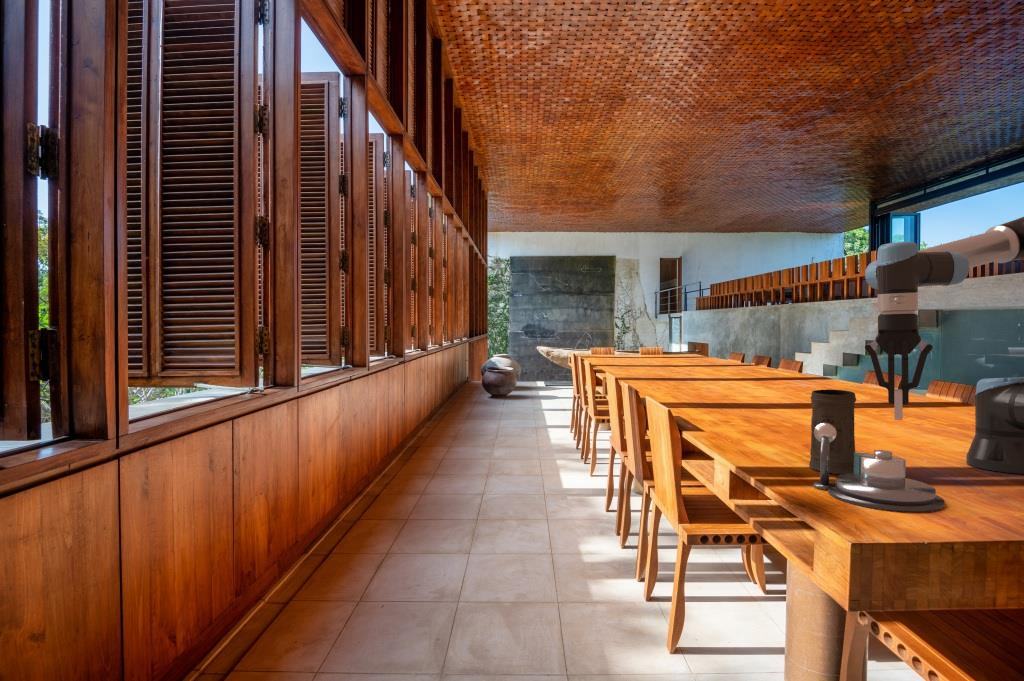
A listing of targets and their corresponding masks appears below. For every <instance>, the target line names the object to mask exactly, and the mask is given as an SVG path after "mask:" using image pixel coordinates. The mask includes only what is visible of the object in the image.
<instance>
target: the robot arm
mask: <svg viewBox="0 0 1024 681" xmlns="http://www.w3.org/2000/svg"><path fill="white" fill-rule="evenodd" d="M876 255H877V256H876V260H874V261H872V262H869V264H868V265H867V266H866V269H865V272H864V278H865V281H866V283H867V285H868V286H869V287H870V288H871V289H874V290H877V312H879V313H880V314H879V315H877V334H876V336H875V338H874V340H873V341H872V342H871V343H867V344H866V345H865V346H864V350H866V352H867V353H868V354H869V356H870V359H871V363H872V366H873V369H874V373H875V376H876V379H877V383H878V386H879V387H882V388H884V389H887V395H888V396H887V397H888V398H887V399H888V401H887V402H888V404H889V405H894V406H893V407H894V421H903V405H905V406H908V405H909V402H910V400H909V394H910V392H909V391H910V390H912V389H916V388H918V387H919V384H920V382H921V377H922V374H923V370H924V367H925V364H926V361H927V360H926V359H927V356H928V355H929V353H930V352H931V351H932V350H933V349H934V348H933V345H932V344H931V343H928V342H926V341H924V340H922V338H921V336H920V334H919V315H918V314H917V313H915V312H916V311H918V310H919V297H918V296H919V293H918V292H919V288H921V287H923V288H924V287H932V286H935V287H936V286H943V287H945V286H947V287H948V286H953V285H954V286H955V285H958V284H961V283H963V282H964V281H965V280H966V278H968V275H969V272H970V269H972V268H975V267H979V266H980V267H981V266H983V265H987V264H990V263H997V264H1005V263H1010V262H1013V261H1023V260H1024V216H1022V217H1019V218H1015V219H1014V220H1011V221H1007V222H1004V223H1002V224H999V225H998V224H997V225H994V226H992V227H989V228H988V229H987V230H985V232H983V233H979V234H977V235H976V234H975V235H972V236H969V237H965V238H961V239H957V240H954V241H950V242H946V243H941V244H939V245H934V246H932V247H927V248H923V249H920V250H919V249H918V244H917V243H916V242H913V241H900V242H889V243H885V244H881V245H880V246H879V247H878V248H877V254H876ZM918 345H919V347H918V350H919V351H920V353H919V355H918V360H917V363H916V366H915V371H914V374H913V376H912V380H911V382H909V355H910V354H911V353H912V352H913V351H914V349H915V348H916V347H917V346H918ZM878 346H879V347H880V348H881V349H882V351H883V352H884V353H885V354H886V355H887V381H885V378H884V374H883V370H882V367H881V364H880V360H879V358H878V353H877V351H878ZM896 355H900V356H901V389H899V388H896V387H895V386H896V385H895V381H896V380H895V356H896ZM974 397H975V400H974V401H975V403H974V404H975V405H974V406H975V407H974V409H975V411H974V412H975V413H974V414H975V418H974V419H975V420H974V421H975V423H974V424H975V425H974V426H975V427H974V428H975V431H974V432H975V434H974V437H973V439H972V442H971V443H970V446H969V449H968V450H967V451H968V452H967V453H966V460H965V461H966V463H965V464H967V465H969V466H970V467H974V468H977V469H982V470H986V471H987V470H988V471H993V472H1002V473H1007V474H1008V473H1009V474H1010V473H1011V474H1019V475H1021V474H1023V475H1024V376H1017V377H993V378H992V377H991V378H988V377H987V378H981V379H980V380H978V381H977V383H976V389H975V393H974Z"/></svg>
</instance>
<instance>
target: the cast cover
mask: <svg viewBox="0 0 1024 681" xmlns="http://www.w3.org/2000/svg"><path fill="white" fill-rule="evenodd" d="M906 462H907V460H906V459H905V458H903V457H900V456H895V455H893V452H892V451H890V450H885V449H875V450H874V451H873V453H869V454H865V455H861V483H862V484H863V485H866V486H869V487H874V488H879V489H888V490H900V489H904V488H905V478H906V464H907V463H906Z"/></svg>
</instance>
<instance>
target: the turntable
mask: <svg viewBox="0 0 1024 681" xmlns="http://www.w3.org/2000/svg"><path fill="white" fill-rule="evenodd" d="M865 454H870V452H856V451H855V452H854V473H850V474H838V475H837V476H836V477H835V483H836V490H837V491H838V492H840V493H842V494H844V495H847V496H849V497H853V498H856V499H860V500H864V501H869V502H875V503H881V504H889V505H900V506H922V505H929V504H932V503H934V502H935V501H936V495H937V494H936V493H937V492H936V491H937V490H936V488H935V487H934V486H932V485H930V484H928V483H926V482H922V481H919V480H916V479H911V478H906V477H905V488H904V489H900V490H888V489H879V488H874V487H869V486H866V485H863V484H862V483H861V455H865Z"/></svg>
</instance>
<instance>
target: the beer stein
mask: <svg viewBox="0 0 1024 681" xmlns="http://www.w3.org/2000/svg"><path fill="white" fill-rule="evenodd" d="M810 401H811V410H812V411H811V413H812V414H811V418H810V421H811V422H810V430H811V432H810V434H811V436H810V451H809V454H810V460H809V464H808V466H809V468H810V469H812V470H813V471H816V470H817V472H820V447H821V442H820V441H818V440H817V439H816V437H815V435H814V429H815V427H816V426H817V425H819V424H821V423H829V424H831V425H833V426H834V428H835V429H836V432H837V435H836V438H835V439H834V440H833V441H832V442H830V452H829V473H832V474H831V475H843V474H852V473H854V452H856V438H855V403H856V402H857V398H856V393H855V392H854V391H852V390H846V389H845V390H843V389H831V388H830V389H829V388H828V389H817V390H812V391H811V396H810Z"/></svg>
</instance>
